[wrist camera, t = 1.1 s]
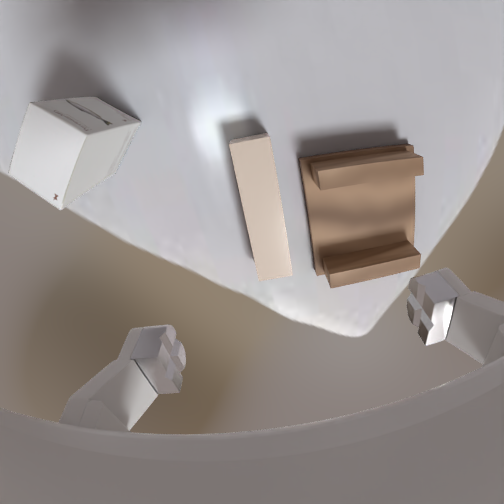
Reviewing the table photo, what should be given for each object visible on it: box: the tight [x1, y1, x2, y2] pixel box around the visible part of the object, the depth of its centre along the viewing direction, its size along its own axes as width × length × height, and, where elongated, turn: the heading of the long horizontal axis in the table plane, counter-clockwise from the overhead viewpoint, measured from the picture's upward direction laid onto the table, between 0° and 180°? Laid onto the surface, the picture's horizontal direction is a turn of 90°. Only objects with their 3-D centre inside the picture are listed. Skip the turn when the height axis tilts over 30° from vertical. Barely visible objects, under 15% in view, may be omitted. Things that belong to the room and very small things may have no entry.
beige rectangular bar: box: [229, 133, 293, 281], centre depth 33 cm, size 16×4×4 cm, turn 11°
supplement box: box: [8, 97, 141, 210], centre depth 24 cm, size 7×7×13 cm
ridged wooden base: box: [299, 144, 424, 288], centre depth 32 cm, size 15×14×5 cm
